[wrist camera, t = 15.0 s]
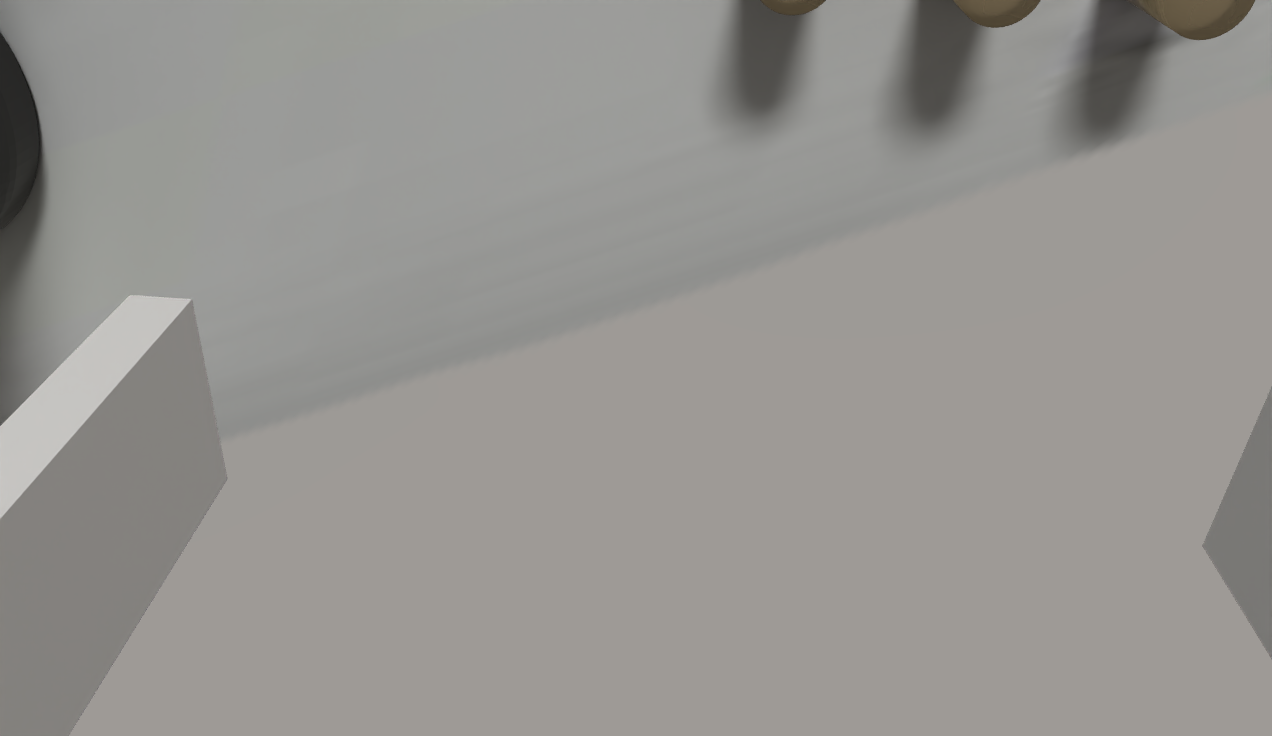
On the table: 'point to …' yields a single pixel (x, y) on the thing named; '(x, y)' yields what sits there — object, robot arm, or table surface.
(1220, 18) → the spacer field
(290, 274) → the table surface
